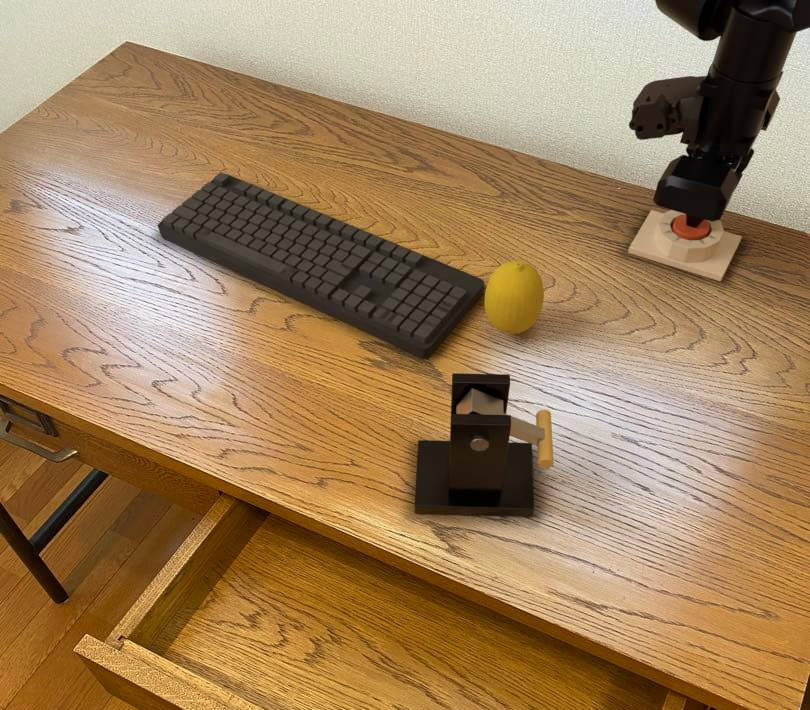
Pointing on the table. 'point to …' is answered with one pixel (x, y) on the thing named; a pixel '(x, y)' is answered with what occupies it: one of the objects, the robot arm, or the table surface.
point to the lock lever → (514, 423)
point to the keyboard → (325, 263)
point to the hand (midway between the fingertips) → (692, 224)
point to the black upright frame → (476, 460)
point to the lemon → (514, 297)
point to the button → (690, 229)
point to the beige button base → (685, 246)
